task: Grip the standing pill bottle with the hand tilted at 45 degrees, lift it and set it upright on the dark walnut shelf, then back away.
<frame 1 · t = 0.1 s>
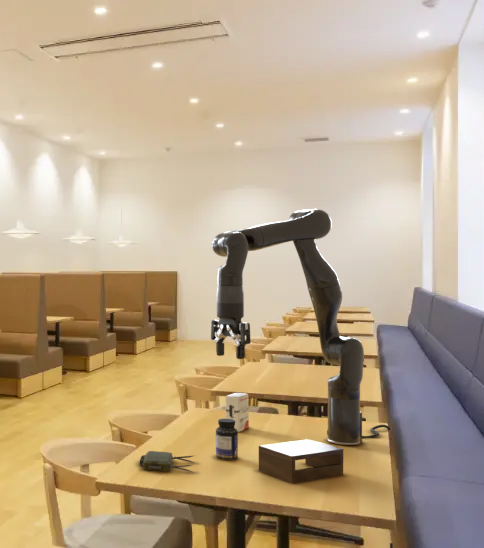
hand: (230, 357, 210), 29 cm above the table, tool pointing down, fingers open, 8 cm apart
pill bottle: (226, 458, 210), on the table
landmine: (167, 466, 203), on the table
shelf: (300, 473, 195), on the table
ink box: (237, 429, 247), on the table
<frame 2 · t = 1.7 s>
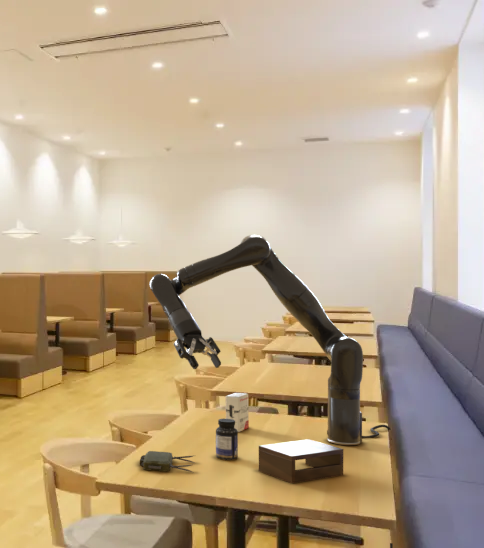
hand: (207, 366, 221), 25 cm above the table, tool tilted 45°, fingers open, 8 cm apart
nothing on the table moved.
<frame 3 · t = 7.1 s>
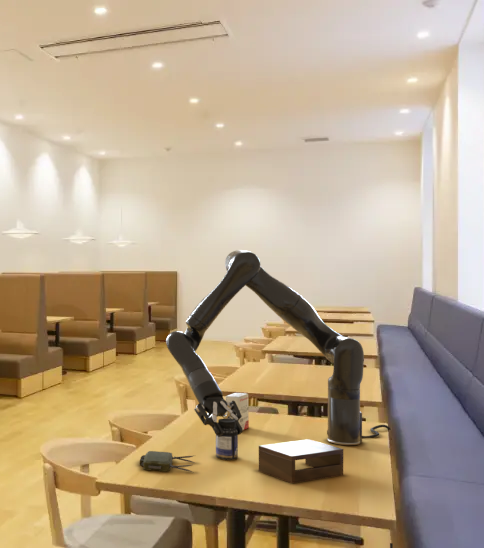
hand: (230, 434, 209), 7 cm above the table, tool tilted 45°, fingers closed on pill bottle, 6 cm apart
pill bottle: (226, 458, 210), on the table, touching gripper
everything else where it was.
when the fingers open (14 cm above the table, at t = 16.3 s): pill bottle stays where it is, resting on shelf.
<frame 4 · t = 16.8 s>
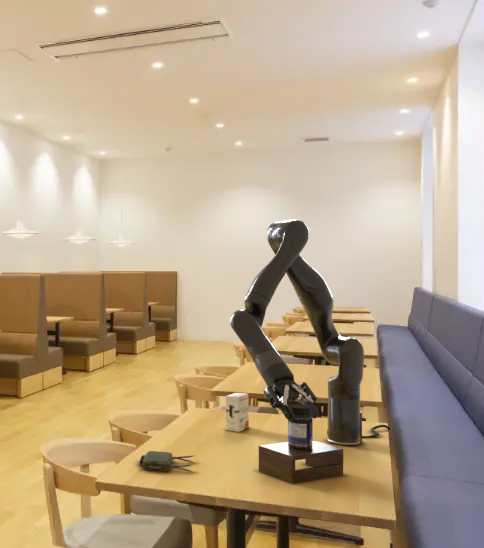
hand: (304, 418, 194), 15 cm above the table, tool tilted 45°, fingers open, 8 cm apart
pill bottle: (300, 447, 195), point 7 cm above the table, touching shelf
everything else where it was.
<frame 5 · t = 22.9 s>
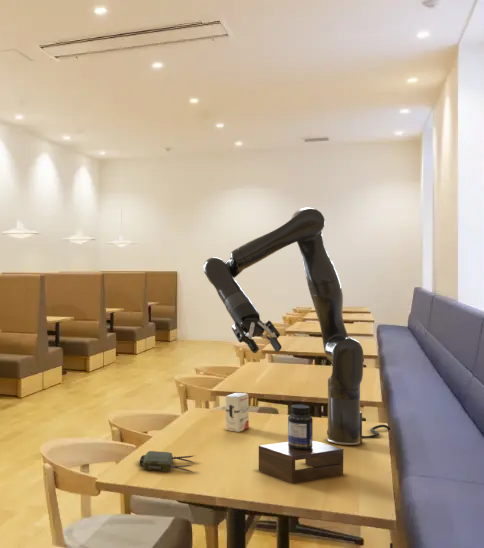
hand: (268, 350, 214), 31 cm above the table, tool tilted 45°, fingers open, 8 cm apart
nothing on the table moved.
at the end: pill bottle inside the target area on the shelf (0.1 cm from its centre), point 6.8 cm above the shelf's base; pill bottle tilted 0°; the gripper is holding nothing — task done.
